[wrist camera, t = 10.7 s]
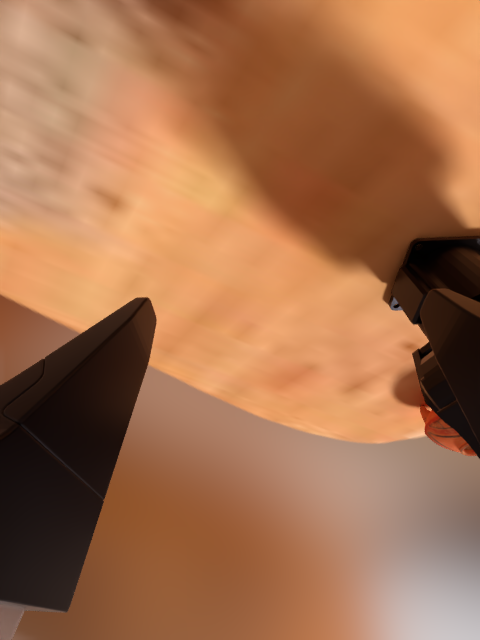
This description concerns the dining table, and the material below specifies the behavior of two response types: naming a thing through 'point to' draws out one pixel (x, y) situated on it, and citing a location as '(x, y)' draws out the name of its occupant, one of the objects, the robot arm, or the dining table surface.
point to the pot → (444, 433)
